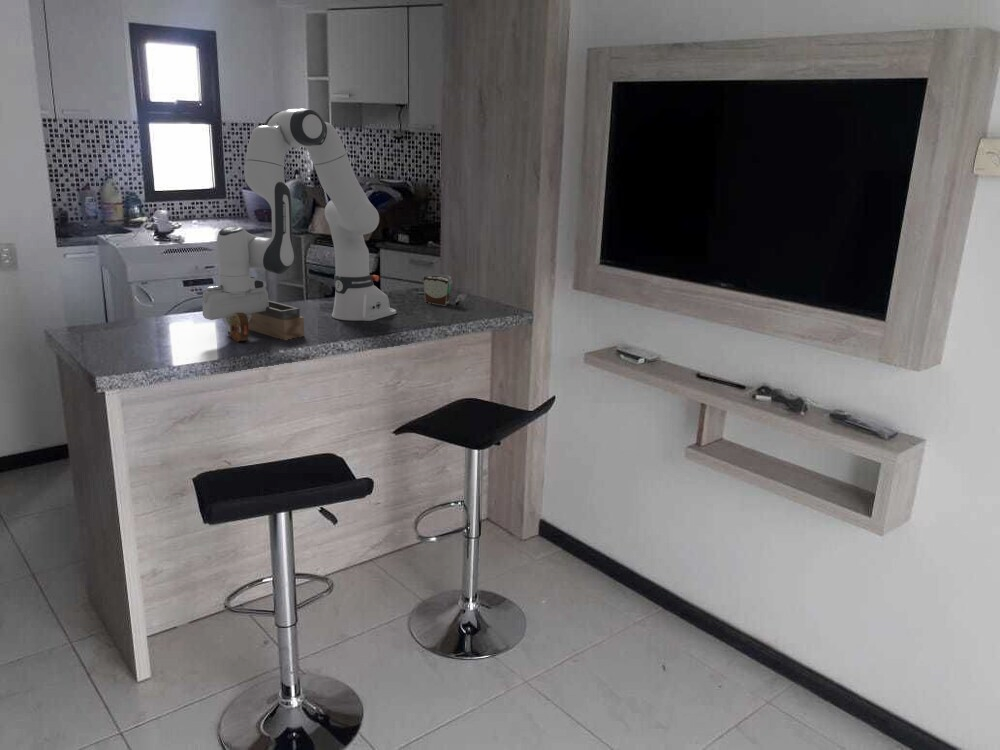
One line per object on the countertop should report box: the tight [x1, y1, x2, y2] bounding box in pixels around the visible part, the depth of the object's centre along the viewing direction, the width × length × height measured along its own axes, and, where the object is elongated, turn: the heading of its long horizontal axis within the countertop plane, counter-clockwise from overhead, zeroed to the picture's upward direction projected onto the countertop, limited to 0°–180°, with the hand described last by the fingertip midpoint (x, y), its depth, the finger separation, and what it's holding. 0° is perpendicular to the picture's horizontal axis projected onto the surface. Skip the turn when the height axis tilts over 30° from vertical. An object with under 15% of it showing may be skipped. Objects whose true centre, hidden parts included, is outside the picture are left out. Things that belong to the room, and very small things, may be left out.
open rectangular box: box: [248, 300, 305, 341], centre depth 247 cm, size 7×22×8 cm, turn 50°
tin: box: [226, 312, 250, 343], centre depth 238 cm, size 15×3×8 cm, turn 33°
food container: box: [421, 274, 453, 307], centre depth 296 cm, size 12×6×10 cm, turn 58°
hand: (237, 329), depth 239 cm, fingers closed on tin, 3 cm apart
